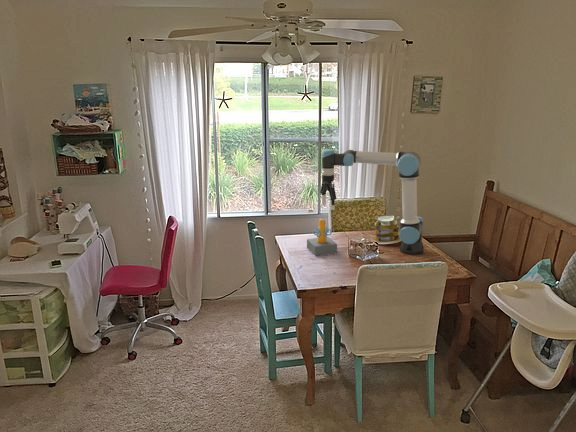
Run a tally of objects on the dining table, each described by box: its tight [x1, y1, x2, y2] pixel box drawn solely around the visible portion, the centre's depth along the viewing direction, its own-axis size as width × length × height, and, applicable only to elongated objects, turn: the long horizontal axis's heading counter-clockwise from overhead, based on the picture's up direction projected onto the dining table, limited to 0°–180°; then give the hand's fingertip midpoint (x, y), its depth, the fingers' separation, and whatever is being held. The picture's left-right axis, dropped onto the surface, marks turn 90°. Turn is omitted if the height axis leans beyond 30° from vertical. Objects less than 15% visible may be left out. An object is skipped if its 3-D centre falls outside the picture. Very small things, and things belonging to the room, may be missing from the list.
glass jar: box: [372, 215, 402, 245], centre depth 334 cm, size 25×25×17 cm
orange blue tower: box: [312, 218, 333, 243], centre depth 315 cm, size 12×10×15 cm
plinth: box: [306, 236, 338, 256], centre depth 318 cm, size 15×15×6 cm
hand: (328, 207), depth 315 cm, fingers open, 13 cm apart
